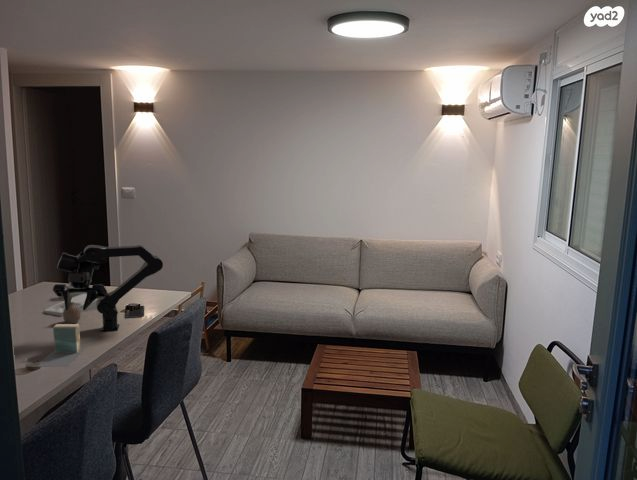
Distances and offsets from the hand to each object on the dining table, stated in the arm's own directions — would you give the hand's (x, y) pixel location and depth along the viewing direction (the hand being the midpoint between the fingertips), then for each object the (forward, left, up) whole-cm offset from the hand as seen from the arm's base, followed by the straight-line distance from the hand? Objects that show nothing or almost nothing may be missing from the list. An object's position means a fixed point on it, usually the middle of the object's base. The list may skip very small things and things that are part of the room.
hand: (75, 309), depth 191 cm
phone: (-35, +18, -14) cm, 41 cm away
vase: (-26, -7, -14) cm, 30 cm away
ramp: (-44, -9, -14) cm, 47 cm away
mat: (+13, -2, -14) cm, 19 cm away
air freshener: (-65, -13, -14) cm, 67 cm away
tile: (+8, -1, -13) cm, 16 cm away
